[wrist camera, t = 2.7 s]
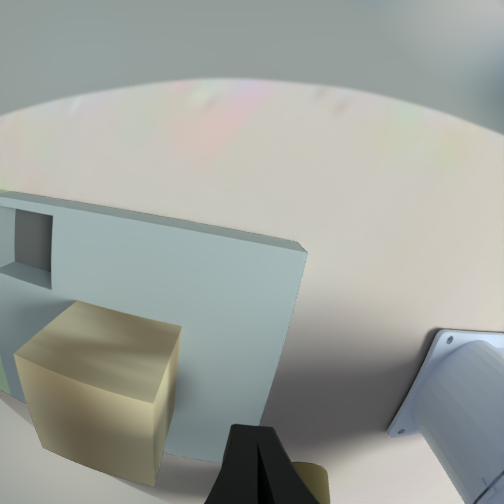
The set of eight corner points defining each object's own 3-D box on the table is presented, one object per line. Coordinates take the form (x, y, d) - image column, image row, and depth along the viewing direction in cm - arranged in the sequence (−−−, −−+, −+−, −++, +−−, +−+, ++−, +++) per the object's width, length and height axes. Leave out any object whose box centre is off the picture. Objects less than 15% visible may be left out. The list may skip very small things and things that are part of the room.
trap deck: (297, 241, 13) (326, 272, 8) (244, 440, 15) (245, 500, 11) (-31, 185, 11) (-84, 192, 7) (-15, 357, 14) (-50, 388, 9)
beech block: (182, 326, 11) (153, 403, 7) (174, 410, 12) (154, 487, 8) (77, 300, 11) (13, 353, 6) (83, 384, 12) (42, 447, 7)
